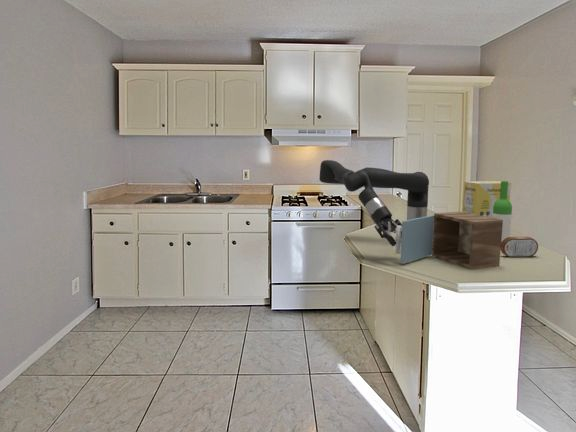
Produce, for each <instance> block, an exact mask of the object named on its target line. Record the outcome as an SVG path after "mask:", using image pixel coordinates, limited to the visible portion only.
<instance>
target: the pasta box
mask: <svg viewBox="0 0 576 432" xmlns="http://www.w3.org/2000/svg"><path fill="white" fill-rule="evenodd" d="M511 188H512V182H508V192H507V200H509V201H510V202H511V190H512V189H511ZM500 189H501V181H500V180H499V181H498V180H492V181H491V180H487V181H486V180H484V181H483V180H480V181H479V180H478V181H477V180H476V181H474V180H473V181H464V182H463V192H462V193H463V194H462V195H463V196H462V210H461V212H466V213H471V214H476V215H481V216H486V217H491V218H492V216H493V206H494V203H495V202H496V201H497V200H499V198H500Z"/></svg>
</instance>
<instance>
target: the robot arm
mask: <svg viewBox="0 0 576 432" xmlns="http://www.w3.org/2000/svg"><path fill="white" fill-rule="evenodd" d="M319 181H320V182H321V183H323V184H333V185H334V184H335V185H344V186H345V189H346V190H347V191H348V192H356V191H357V190H358V191H359V190H360V189H362V188H364V189H363V190H362V191H360V193H359V194H358V201H360V203H361V204H362V205H363V207H364V209H365V210H366V212H367V214H368V215H369V217H370V218H371V219H372V221H373V222H374V224H375V225H374V229H375V230H376V232H377V233H378V234H379V237H380V238H381V239H385V240H387V242H388V243H389V244H390V245H391V247H396V244H397V243H396V239H395V238H394V237H393V235H392V234H391V233H393V234H396V233H397V226H398V225H399V226H401V227H402V221H400V220H399V219H398V218H396V219H395V220H394V219H393V218H392V216H393V213H392V212H391V211H390V210H389V208H388V207H387V206H386V204H385V203H384V201H383V200H382V199H381V198H380V197H379V196H378V194H377V192H375V190H374V189H375V188H376V189H399V190H405V191H407V200H406V201H407V202H406V220H411V219H416V218H421V217H426V216H428V206H429V205H428V204H429V185H430V180H429V178H428V175H427V174H426V173H425V172H422V171H415V172H397V171H392V170H390V169H384V168H379V167H370V166H369V167H364V168H362V169H359V170H356V171H354V170H351V169H348V168H346V167H345V166H343V164H341V163H340V162H338V161H336V160H332V159H331V160H330V159H327V160H323V161H321V163H320V167H319ZM401 239H402V231H401Z"/></svg>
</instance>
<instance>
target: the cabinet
mask: <svg viewBox="0 0 576 432" xmlns="http://www.w3.org/2000/svg"><path fill="white" fill-rule="evenodd" d="M433 216H434V226H433V244H432V255H431V257H434V256H435V258H437V257H438V258H437V259H440V260H442V259H443V261H446V262H448V263H451V264H455V265H457V266H460V267H462V268H463V267H464V268H466V269H469V270H477V269H483V268H484V269H485V268H491V267H492V268H493V267H499V266H500V263H501V261H500V260H501V239H502V226H503V220H502V219H497V218H491V217H486V216H481V215H476V214H471V213H466V212H462V211H450V212H435V213H433Z"/></svg>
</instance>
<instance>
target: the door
mask: <svg viewBox="0 0 576 432" xmlns="http://www.w3.org/2000/svg"><path fill="white" fill-rule="evenodd" d="M401 224H402V227H401V226H399V225H398V226H397V228H396V229H397V233H395V234H396V236H395V238H396V239H395V241H396V243H397V244H396V245H395V254H396V255H397V254H398V255H400V261H399V262H400V264H406V263H409V262H410V263H411V262H412V261H415V260H419V259H423V258H425V257H429V256H432V245H433V227H434V214H433V215H427V216H426V217H421V218H416V219H411V220H407V219H405V220H403V221H401ZM401 231H402V239H401Z"/></svg>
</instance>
